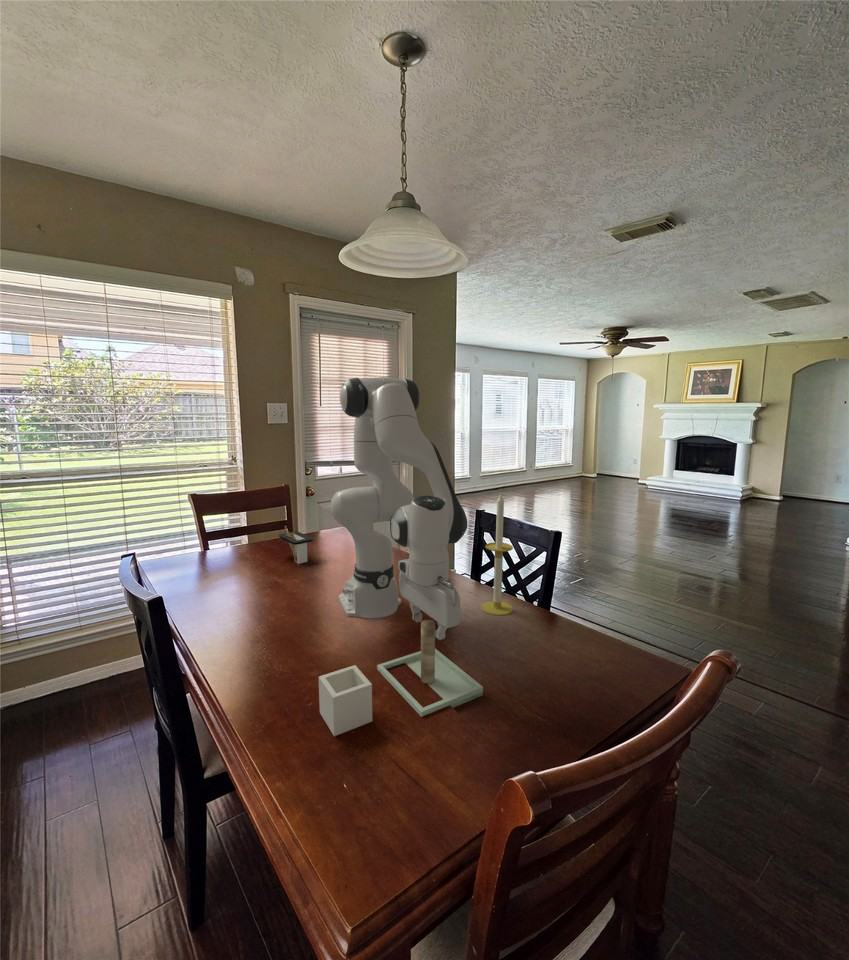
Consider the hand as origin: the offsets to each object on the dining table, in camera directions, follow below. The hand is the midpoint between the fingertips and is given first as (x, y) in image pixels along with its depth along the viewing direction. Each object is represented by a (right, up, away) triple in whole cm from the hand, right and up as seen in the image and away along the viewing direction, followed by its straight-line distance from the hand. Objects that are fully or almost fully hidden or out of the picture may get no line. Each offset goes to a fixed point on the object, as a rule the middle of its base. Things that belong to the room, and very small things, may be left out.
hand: (428, 629), depth 103 cm
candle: (+22, -7, +42) cm, 48 cm away
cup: (-17, -15, -11) cm, 25 cm away
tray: (0, -13, +2) cm, 13 cm away
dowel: (0, -12, +2) cm, 13 cm away
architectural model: (-54, 0, +87) cm, 102 cm away
